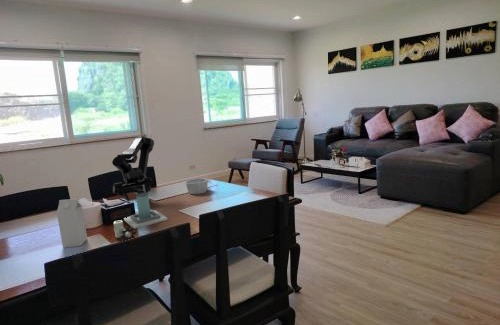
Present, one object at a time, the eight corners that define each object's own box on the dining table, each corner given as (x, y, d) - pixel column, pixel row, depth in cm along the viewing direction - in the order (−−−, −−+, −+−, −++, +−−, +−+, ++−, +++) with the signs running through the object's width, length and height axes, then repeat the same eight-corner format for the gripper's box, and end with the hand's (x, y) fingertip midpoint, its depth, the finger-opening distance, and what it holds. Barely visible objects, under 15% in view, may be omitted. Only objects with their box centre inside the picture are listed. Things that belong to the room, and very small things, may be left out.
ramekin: (182, 194, 210) (181, 183, 209) (193, 188, 222) (192, 178, 221) (201, 195, 205) (200, 183, 204) (212, 189, 217) (211, 178, 216)
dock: (123, 220, 170) (123, 215, 170) (155, 212, 179) (154, 208, 179) (134, 228, 158) (133, 224, 157) (167, 219, 167) (167, 215, 166)
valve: (110, 237, 149) (121, 245, 141) (108, 222, 148) (119, 229, 139) (125, 232, 154) (137, 239, 145) (123, 218, 153) (135, 224, 144)
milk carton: (70, 241, 148) (62, 197, 145) (87, 239, 149) (80, 196, 145) (62, 248, 141) (54, 202, 138) (80, 246, 142) (73, 201, 138)
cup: (137, 218, 169) (134, 194, 167) (148, 215, 172) (145, 191, 170) (141, 220, 164) (138, 196, 162) (152, 217, 168) (149, 193, 165)
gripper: (111, 167, 169) (120, 194, 162) (148, 161, 179) (159, 186, 172) (109, 180, 177) (118, 206, 170) (145, 174, 187) (155, 198, 180)
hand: (138, 199), depth 173 cm, fingers open, 9 cm apart
